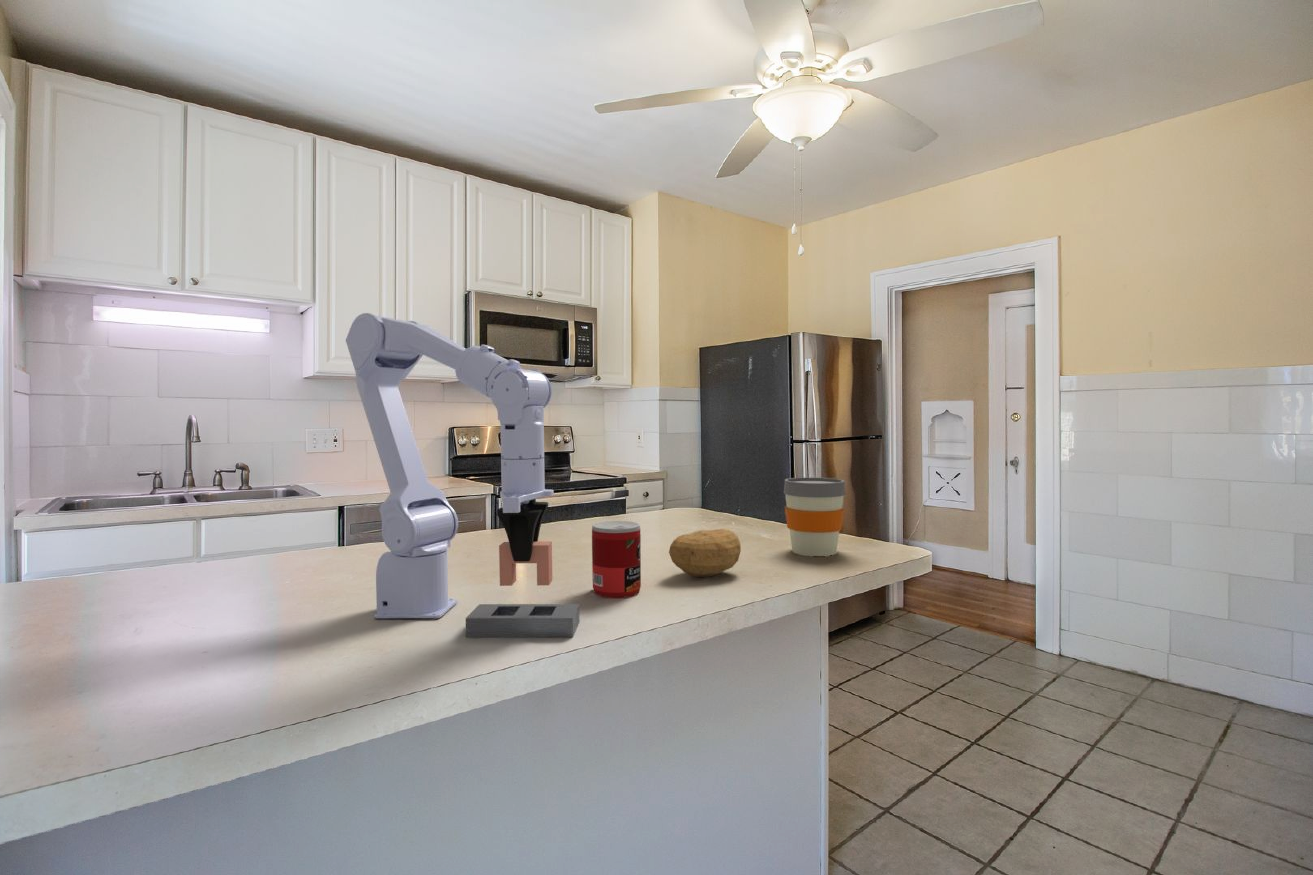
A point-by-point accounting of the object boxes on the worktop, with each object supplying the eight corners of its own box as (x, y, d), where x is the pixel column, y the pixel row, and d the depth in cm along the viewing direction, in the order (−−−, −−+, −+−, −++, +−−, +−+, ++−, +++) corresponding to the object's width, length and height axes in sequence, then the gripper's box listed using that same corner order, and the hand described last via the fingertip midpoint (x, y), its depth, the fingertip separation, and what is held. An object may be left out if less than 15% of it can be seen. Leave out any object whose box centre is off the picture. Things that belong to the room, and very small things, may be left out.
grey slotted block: (465, 637, 81) (465, 618, 81) (479, 621, 87) (479, 604, 87) (573, 637, 81) (572, 617, 81) (579, 621, 87) (579, 603, 87)
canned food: (635, 599, 97) (634, 529, 97) (586, 596, 99) (585, 528, 98) (645, 586, 105) (645, 521, 104) (600, 584, 106) (599, 520, 106)
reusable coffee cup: (858, 553, 128) (858, 481, 127) (815, 561, 121) (815, 485, 121) (813, 543, 139) (813, 476, 138) (771, 550, 132) (771, 479, 131)
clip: (499, 585, 83) (499, 545, 83) (504, 580, 86) (503, 541, 86) (549, 585, 83) (548, 545, 83) (552, 580, 86) (551, 541, 86)
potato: (657, 574, 112) (657, 530, 112) (721, 565, 119) (721, 523, 119) (685, 587, 104) (685, 539, 103) (753, 576, 110) (753, 531, 110)
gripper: (542, 461, 77) (544, 570, 77) (560, 454, 91) (562, 546, 92) (485, 462, 77) (487, 571, 77) (512, 455, 91) (514, 547, 92)
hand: (524, 558), depth 84 cm, fingers closed on clip, 3 cm apart
